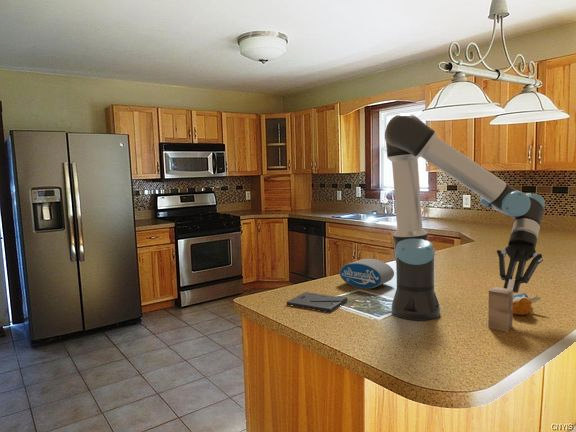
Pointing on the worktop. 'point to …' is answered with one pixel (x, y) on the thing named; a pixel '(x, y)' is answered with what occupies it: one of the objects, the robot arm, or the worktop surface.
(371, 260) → the sign
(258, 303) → the worktop surface
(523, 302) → the toy
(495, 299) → the block
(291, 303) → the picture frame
